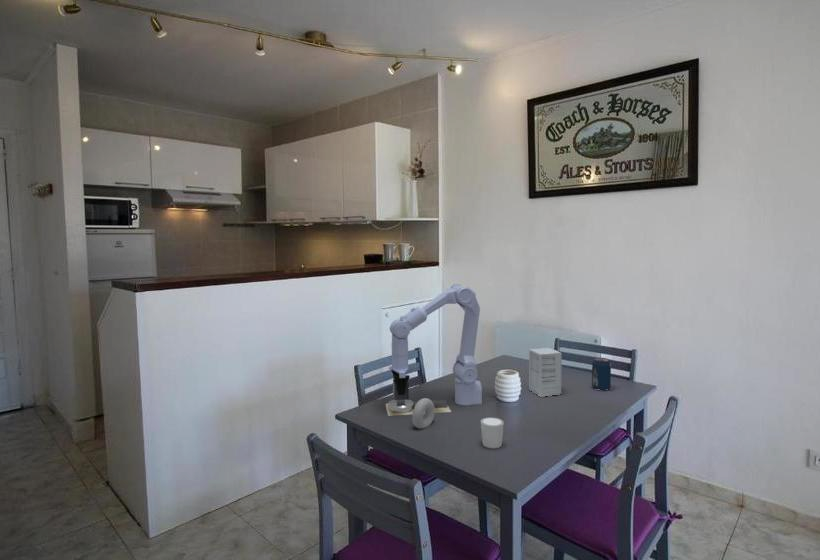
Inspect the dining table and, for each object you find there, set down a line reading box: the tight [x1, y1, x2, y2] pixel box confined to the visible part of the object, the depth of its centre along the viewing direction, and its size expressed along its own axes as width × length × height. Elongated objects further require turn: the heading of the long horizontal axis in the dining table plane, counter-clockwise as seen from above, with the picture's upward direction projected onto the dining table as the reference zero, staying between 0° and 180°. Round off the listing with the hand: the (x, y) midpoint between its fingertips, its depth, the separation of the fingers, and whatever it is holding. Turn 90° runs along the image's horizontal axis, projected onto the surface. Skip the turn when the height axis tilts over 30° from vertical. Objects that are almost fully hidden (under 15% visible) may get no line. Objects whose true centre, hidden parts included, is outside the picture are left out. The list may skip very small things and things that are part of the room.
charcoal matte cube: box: [392, 378, 410, 400], centre depth 167 cm, size 5×5×6 cm
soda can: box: [591, 357, 612, 390], centre depth 190 cm, size 7×7×12 cm
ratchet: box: [387, 399, 449, 413], centre depth 169 cm, size 21×9×4 cm, turn 97°
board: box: [384, 402, 452, 417], centre depth 169 cm, size 22×12×1 cm, turn 97°
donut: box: [411, 397, 436, 430], centre depth 153 cm, size 10×4×10 cm, turn 143°
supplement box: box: [528, 347, 563, 398], centre depth 186 cm, size 10×9×17 cm
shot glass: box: [480, 416, 505, 449], centre depth 141 cm, size 7×7×7 cm
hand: (400, 392), depth 168 cm, fingers closed on charcoal matte cube, 5 cm apart
